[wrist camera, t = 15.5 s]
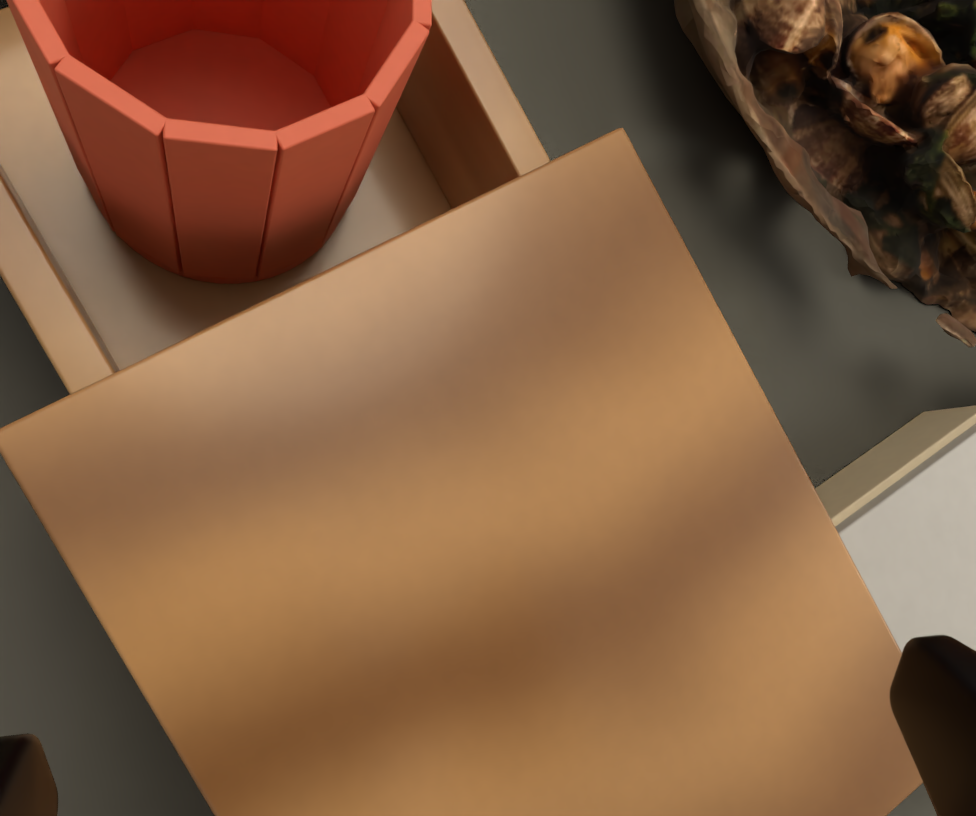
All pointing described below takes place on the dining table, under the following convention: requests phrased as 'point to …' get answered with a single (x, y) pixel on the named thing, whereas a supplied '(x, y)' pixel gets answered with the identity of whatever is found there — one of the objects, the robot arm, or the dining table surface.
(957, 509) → the kitchen scale
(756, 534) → the cabinet
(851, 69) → the food dish
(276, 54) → the red mug
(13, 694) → the dining table surface
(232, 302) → the drawer
